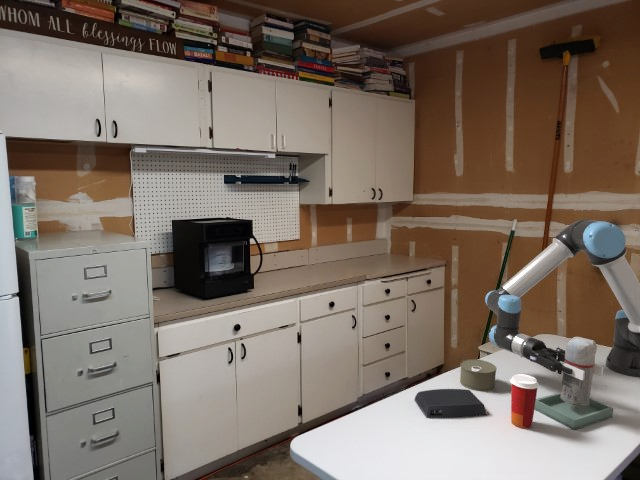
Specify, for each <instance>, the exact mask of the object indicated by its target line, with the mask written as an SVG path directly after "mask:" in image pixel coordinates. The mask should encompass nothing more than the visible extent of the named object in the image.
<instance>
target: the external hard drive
mask: <svg viewBox="0 0 640 480" xmlns="http://www.w3.org/2000/svg"><path fill="white" fill-rule="evenodd" d="M413 400H414V402H415V404H416V405H417V407H418V408H419V410H420V411H421V413H422V414H423V415H424V417H425V418H426V419H460V418H461V419H462V418H473V417H474V418H475V417H483V416H487V409H486V407H485V404H484V403H483V402H482V401H481V400H480V399H479V398H478V397H477V396H476V395H475V394H474V393H473V392H472V390H471V389H467V388H438V389H437V388H435V389H428V390H421V391H418V392H417V393H416V394H415V397H414V399H413Z"/></svg>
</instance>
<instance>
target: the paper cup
mask: <svg viewBox="0 0 640 480" xmlns="http://www.w3.org/2000/svg"><path fill="white" fill-rule="evenodd" d="M510 378H511V379H510V380H509V382H510V383H511V385H510V386H511V387H510V388H511V393H510V395H511V396H510V397H511V400H510V403H511V404H510V405H511V406H510V415H511V416H510V419H511V420H510V421H511V424H512V425H513V426H515V427H517V428H519V429H525V430H526V429H531V428H532V426H533V420H534V415H535V410H534V408H535V401H536V399H537V394H538V388H539V386H540V384H539V382H538V380H537V378H535V377H534V376H532V375H529V374H524V373H523V374H522V373H518V374H517V373H516V374H514V375H513V376H512V377H510Z"/></svg>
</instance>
